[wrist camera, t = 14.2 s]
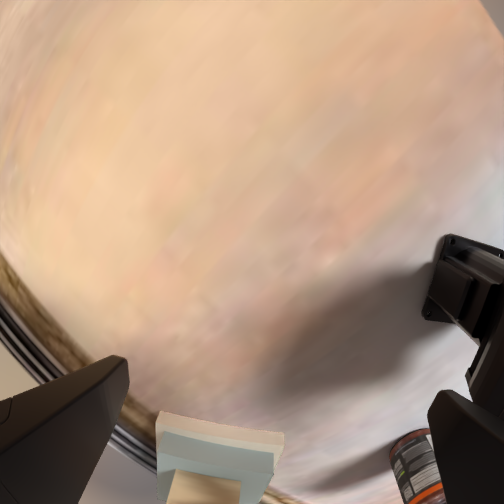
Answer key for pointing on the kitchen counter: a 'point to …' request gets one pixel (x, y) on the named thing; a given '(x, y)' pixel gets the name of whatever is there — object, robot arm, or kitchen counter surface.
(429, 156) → the kitchen counter surface
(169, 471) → the top block
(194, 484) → the maple cube
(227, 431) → the bottom block
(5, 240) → the kitchen counter surface
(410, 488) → the supplement bottle
